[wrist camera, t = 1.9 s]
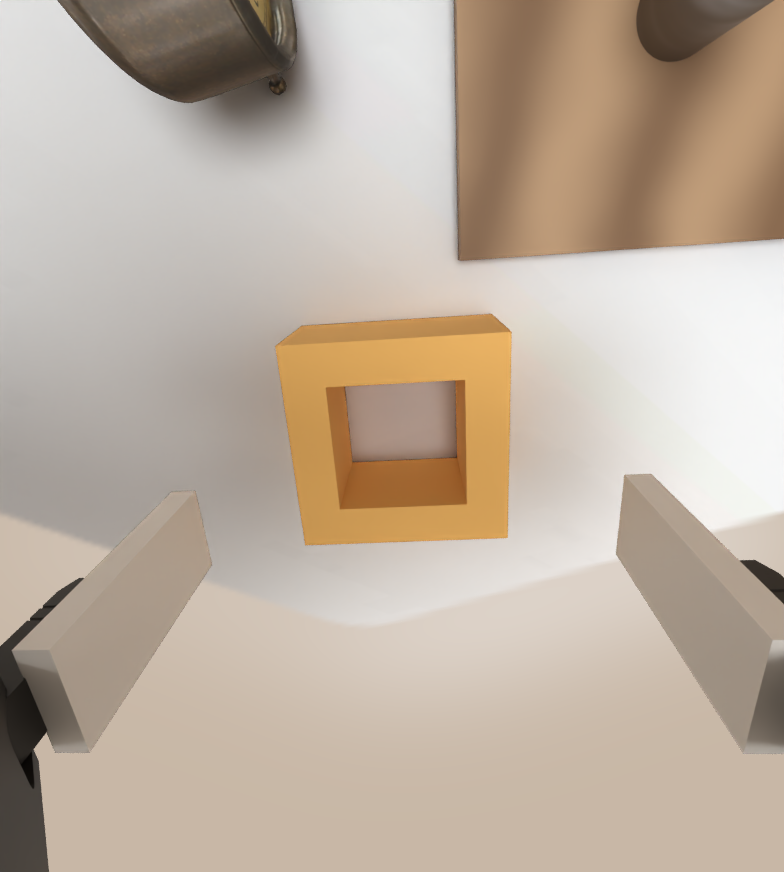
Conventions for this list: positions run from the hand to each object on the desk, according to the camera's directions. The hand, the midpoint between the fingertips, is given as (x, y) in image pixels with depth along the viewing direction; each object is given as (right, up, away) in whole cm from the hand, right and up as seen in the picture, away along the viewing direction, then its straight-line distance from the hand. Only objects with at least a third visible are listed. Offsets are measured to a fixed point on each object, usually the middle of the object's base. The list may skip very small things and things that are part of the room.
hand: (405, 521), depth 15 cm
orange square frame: (0, +4, +10) cm, 11 cm away
